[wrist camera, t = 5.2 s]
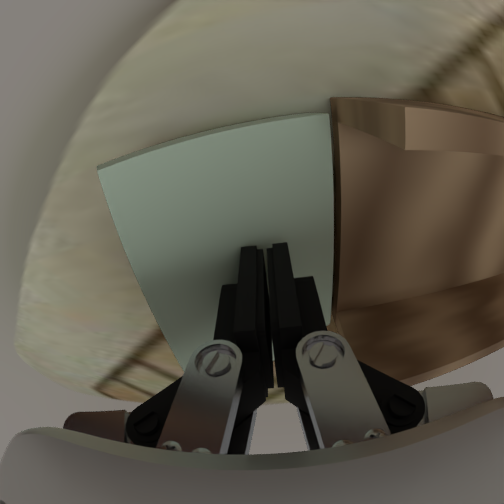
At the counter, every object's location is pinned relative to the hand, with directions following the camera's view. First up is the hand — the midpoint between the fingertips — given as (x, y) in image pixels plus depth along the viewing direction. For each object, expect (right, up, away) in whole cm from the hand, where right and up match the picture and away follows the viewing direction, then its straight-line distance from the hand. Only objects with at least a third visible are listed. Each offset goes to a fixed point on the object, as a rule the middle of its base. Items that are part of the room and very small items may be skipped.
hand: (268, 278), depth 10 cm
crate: (+12, +3, +2) cm, 13 cm away
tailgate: (+3, +2, +2) cm, 4 cm away
